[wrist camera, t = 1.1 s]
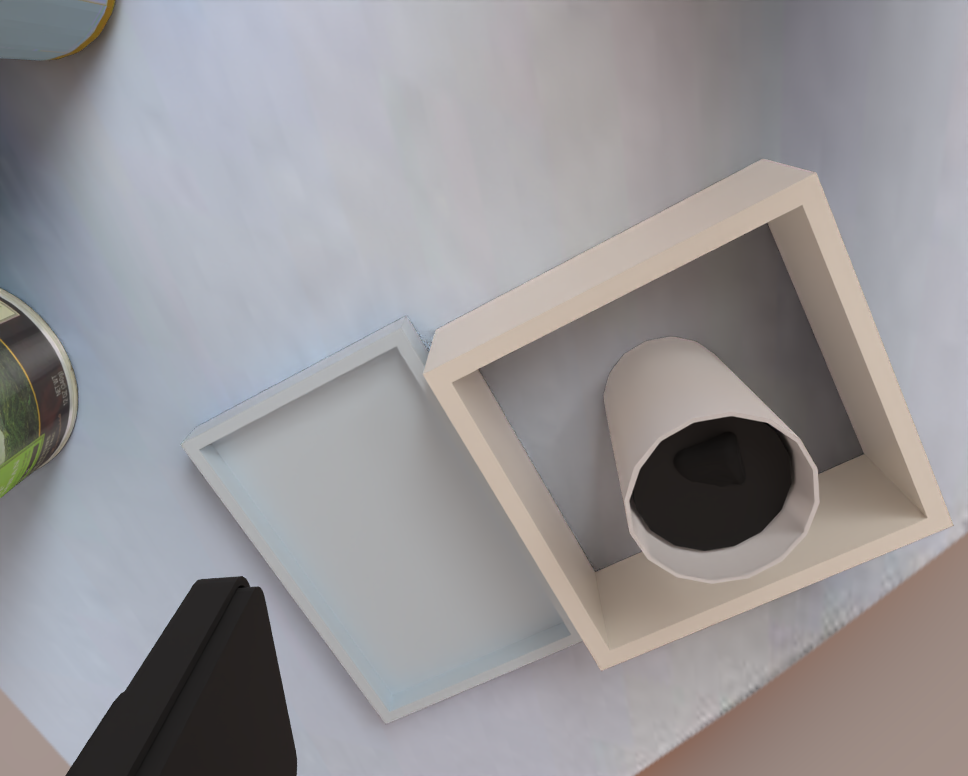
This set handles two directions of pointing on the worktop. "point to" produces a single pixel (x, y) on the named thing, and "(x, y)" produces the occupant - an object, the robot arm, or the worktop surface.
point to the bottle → (50, 27)
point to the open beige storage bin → (842, 489)
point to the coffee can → (31, 392)
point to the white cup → (705, 465)
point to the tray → (383, 525)
